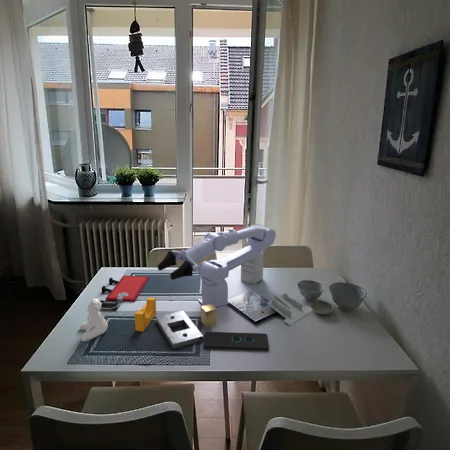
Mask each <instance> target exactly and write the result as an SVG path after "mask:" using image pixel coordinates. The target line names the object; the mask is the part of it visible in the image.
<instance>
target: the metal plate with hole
mask: <svg viewBox="0 0 450 450" xmlns="http://www.w3.org/2000/svg"><path fill="white" fill-rule="evenodd" d="M155 322H156V324H157V326H158V327H159V328H160V330H161V332H162V333H163V335H164V337H165V338H166V340H167V342H168V343H169V344H170V346H171V348H172V349H173V350H175V349H179V348H184V347H186V346H190V345H193V344H197V343H201V342H204V335H203V334H202V332H201V331H200V330H199V329H198V327H197V325H196V324H195V323H194V322H193V321H192V320H191V319H190V317H189V316H188V315H187V314H186V312H185V311H184V310H180V311H175V312H171V313H166V314H162V315H157V316H155ZM178 326H185V328H186V329H182V330H176V331H174V332H173V331H172V329H171V328H174V327H178Z"/></svg>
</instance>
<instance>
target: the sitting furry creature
mask: <svg viewBox="0 0 450 450" xmlns="http://www.w3.org/2000/svg"><path fill="white" fill-rule="evenodd" d="M100 300H101V299H100V298H99V297H97V298H91V301H90V304H88V305H87V310H86V311H87V312H88V314H87V321H84V322H82V323H80V325H79V329H80V330H81V331H84V333H83V334H82V335H81V336H80V340H81V342H83V343H85V342H89V341H91V340H93V339H95V338H97V337H99V336H101V335H103V334H104V333H105V332H107V330H108V322H107V319H106V318H104V317H103V315H102V312H101V310H102V309H101V305H102V303H101V302H100Z"/></svg>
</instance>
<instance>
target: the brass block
mask: <svg viewBox="0 0 450 450" xmlns="http://www.w3.org/2000/svg"><path fill="white" fill-rule="evenodd" d="M200 308H201V309H200V318H201V319H200V320H201V321H200V322H201V324H203V326H204V328H208V327H213V326H217V322H218V321H217V319H218V317H217V316H218V315H217V314H218V313H217V312H218V308H217V307H214V306H213V305H212V304H209V305H204V306H203V305H202V306H200Z"/></svg>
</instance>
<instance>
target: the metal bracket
mask: <svg viewBox="0 0 450 450" xmlns="http://www.w3.org/2000/svg"><path fill="white" fill-rule="evenodd" d="M266 305H267V306H268V307H270V308H272V309H273V310H274V311H276V312H277V313H278V314H279V315H281V316H282V317H283V318H285V319H283V322H284V323H285V324H287V325H288V326H290V327H291V326H293V325H295V324H296V323H297V322H298V321H300V320H301V319H302V318H305V317H306V316H307V315H310V314H311V313H313V311H314V310H313V308H311V307H310V306H308V305H305V306H303V304H302V303H301V302H299V301H297V300H296V298H292V297H290V296H289V295H288V293H287V292H285V293H283V294H280V295H278V296H277V295H276V294H275V295H274V296H273V299H272V300H270V301H268V302H266Z"/></svg>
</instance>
